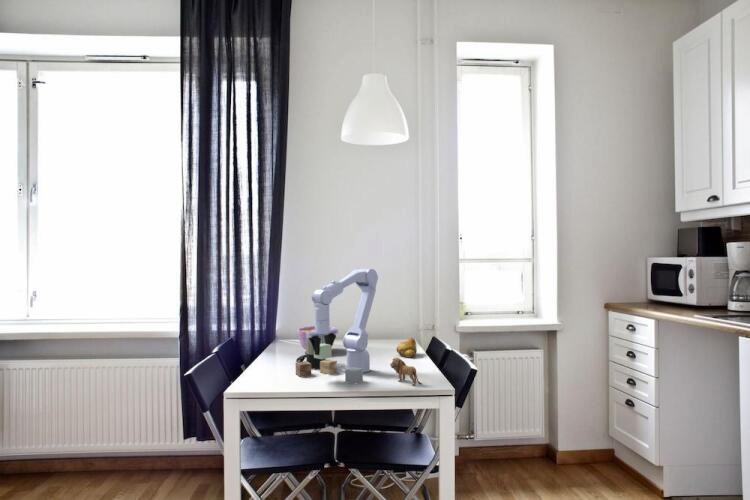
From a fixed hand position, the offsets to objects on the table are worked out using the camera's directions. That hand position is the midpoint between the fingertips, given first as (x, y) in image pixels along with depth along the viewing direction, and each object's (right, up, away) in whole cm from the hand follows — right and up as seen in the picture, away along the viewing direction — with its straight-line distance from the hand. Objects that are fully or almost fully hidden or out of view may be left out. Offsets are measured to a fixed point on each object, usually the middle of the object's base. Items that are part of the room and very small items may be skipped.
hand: (322, 353), depth 208 cm
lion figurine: (+33, -10, -5) cm, 35 cm away
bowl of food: (-8, -10, +56) cm, 58 cm away
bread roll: (+36, -10, +45) cm, 58 cm away
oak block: (+1, -11, +12) cm, 16 cm away
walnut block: (-9, -11, +8) cm, 16 cm away
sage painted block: (0, -2, 0) cm, 2 cm away
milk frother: (-8, -11, +26) cm, 29 cm away
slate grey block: (+13, -10, -3) cm, 17 cm away
